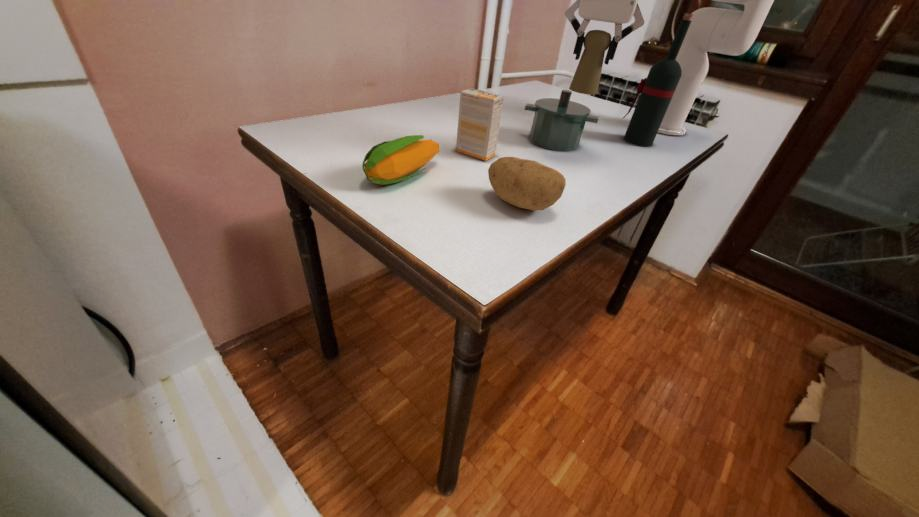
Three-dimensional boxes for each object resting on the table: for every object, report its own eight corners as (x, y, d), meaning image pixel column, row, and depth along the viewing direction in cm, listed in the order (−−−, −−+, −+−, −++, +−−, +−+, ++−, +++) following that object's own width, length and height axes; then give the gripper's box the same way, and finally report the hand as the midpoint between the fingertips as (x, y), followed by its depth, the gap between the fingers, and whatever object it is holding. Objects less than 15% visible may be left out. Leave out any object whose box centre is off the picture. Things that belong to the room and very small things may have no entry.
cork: (599, 95, 75) (618, 34, 68) (569, 91, 76) (585, 29, 69) (596, 89, 80) (613, 31, 73) (568, 85, 80) (583, 27, 74)
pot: (524, 128, 102) (530, 96, 97) (589, 141, 98) (599, 108, 93) (515, 142, 92) (522, 107, 87) (587, 157, 89) (598, 122, 83)
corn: (349, 142, 62) (425, 119, 75) (351, 182, 66) (421, 154, 80) (381, 159, 59) (453, 131, 72) (380, 199, 64) (448, 166, 77)
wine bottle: (620, 132, 107) (665, 10, 89) (655, 142, 103) (710, 16, 84) (611, 137, 102) (656, 9, 84) (647, 149, 98) (704, 16, 79)
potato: (499, 183, 73) (506, 144, 68) (565, 208, 67) (578, 167, 62) (473, 200, 66) (478, 158, 61) (543, 229, 60) (555, 186, 55)
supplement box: (495, 155, 84) (505, 95, 76) (485, 161, 80) (494, 99, 72) (465, 145, 87) (472, 87, 79) (454, 151, 84) (460, 90, 76)
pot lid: (538, 99, 97) (542, 81, 94) (590, 109, 94) (596, 90, 91) (530, 112, 86) (534, 91, 84) (588, 123, 84) (594, 102, 81)
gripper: (673, -49, 65) (633, 65, 76) (576, -58, 68) (552, 52, 79) (679, -53, 59) (635, 71, 70) (573, -63, 62) (547, 57, 73)
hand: (591, 60), depth 74 cm, fingers closed on cork, 5 cm apart
